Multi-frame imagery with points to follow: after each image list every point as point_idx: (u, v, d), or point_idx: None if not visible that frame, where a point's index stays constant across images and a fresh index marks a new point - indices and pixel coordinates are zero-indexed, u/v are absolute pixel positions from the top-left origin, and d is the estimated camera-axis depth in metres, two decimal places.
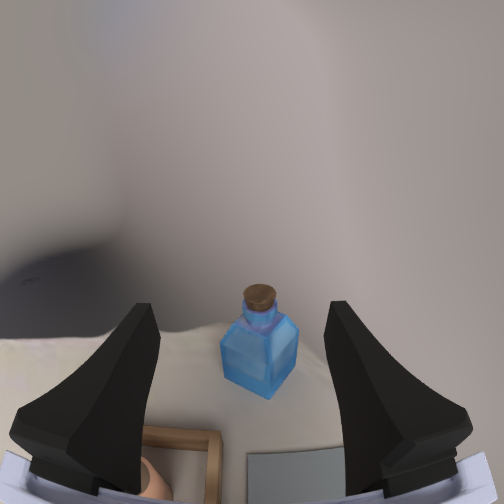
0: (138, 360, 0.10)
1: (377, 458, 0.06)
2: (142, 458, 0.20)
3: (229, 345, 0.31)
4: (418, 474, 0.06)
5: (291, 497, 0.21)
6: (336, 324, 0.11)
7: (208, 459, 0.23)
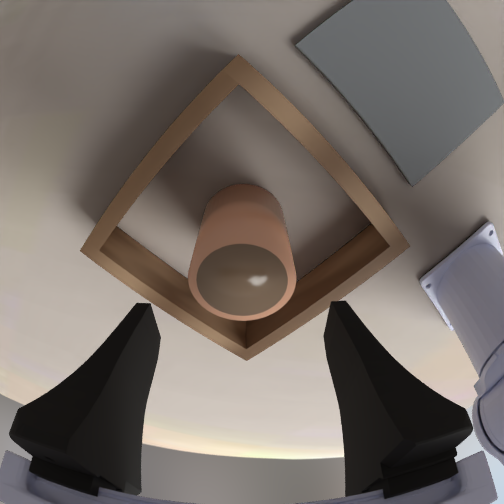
0: (138, 360, 0.10)
1: (377, 458, 0.06)
2: (225, 240, 0.13)
3: None
4: (418, 474, 0.06)
5: (405, 74, 0.14)
6: (336, 324, 0.11)
7: (276, 115, 0.13)
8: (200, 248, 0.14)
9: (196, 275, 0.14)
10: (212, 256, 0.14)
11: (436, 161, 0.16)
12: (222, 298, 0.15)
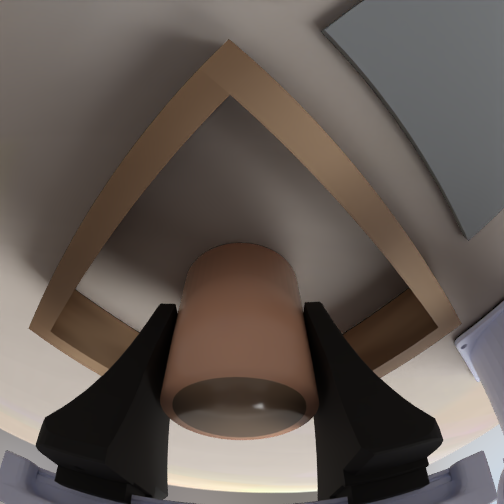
0: (165, 362, 0.10)
1: (341, 465, 0.06)
2: (210, 373, 0.08)
3: None
4: (385, 483, 0.06)
5: (477, 87, 0.08)
6: (309, 325, 0.11)
7: (297, 152, 0.08)
8: (173, 376, 0.08)
9: (172, 403, 0.09)
10: (192, 388, 0.08)
11: (499, 207, 0.11)
12: (212, 424, 0.09)
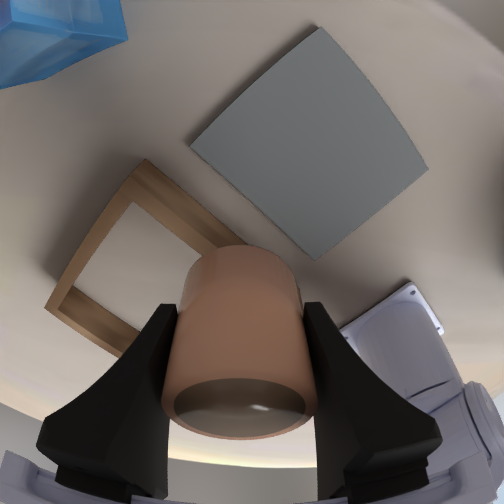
0: (165, 362, 0.10)
1: (341, 465, 0.06)
2: (216, 373, 0.08)
3: None
4: (385, 483, 0.06)
5: (301, 160, 0.17)
6: (308, 326, 0.11)
7: (165, 224, 0.16)
8: (177, 375, 0.08)
9: (174, 402, 0.09)
10: (196, 388, 0.08)
11: (339, 237, 0.20)
12: (210, 424, 0.09)
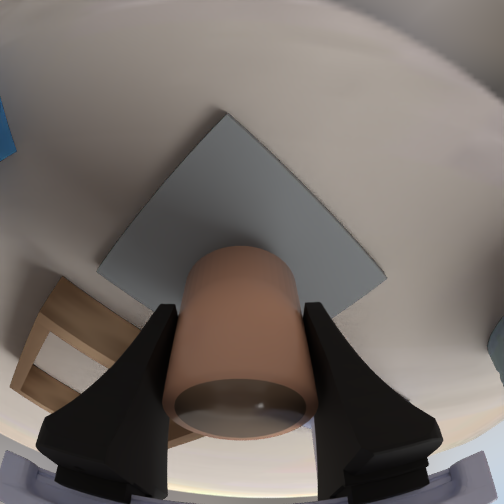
0: (165, 362, 0.10)
1: (341, 465, 0.06)
2: (220, 374, 0.08)
3: None
4: (385, 483, 0.06)
5: None
6: (309, 326, 0.11)
7: (83, 352, 0.14)
8: (180, 375, 0.08)
9: (175, 401, 0.09)
10: (199, 388, 0.08)
11: None
12: (210, 424, 0.09)
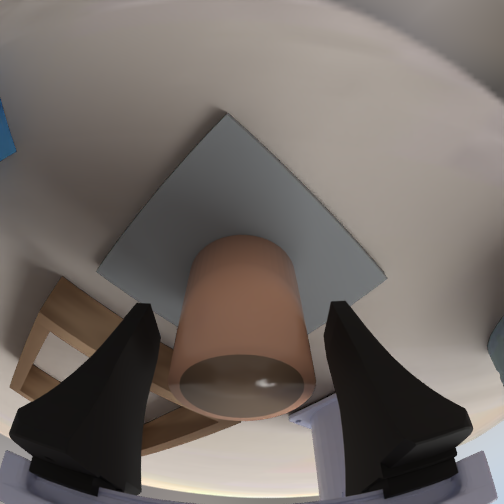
0: (138, 360, 0.10)
1: (377, 458, 0.06)
2: (224, 349, 0.09)
3: None
4: (418, 474, 0.06)
5: None
6: (336, 324, 0.11)
7: (83, 352, 0.14)
8: (186, 352, 0.09)
9: (180, 379, 0.09)
10: (203, 365, 0.09)
11: None
12: (213, 403, 0.10)
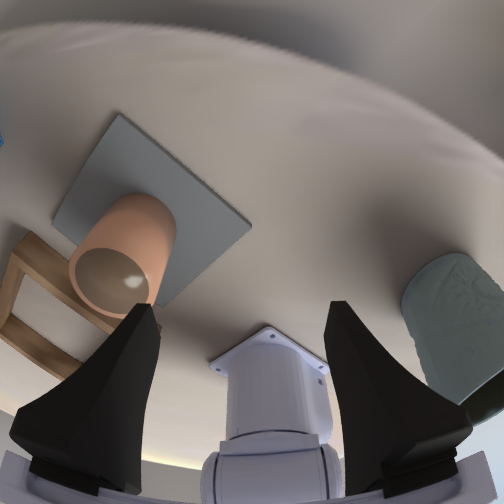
0: (138, 360, 0.10)
1: (377, 458, 0.06)
2: (91, 244, 0.13)
3: None
4: (418, 474, 0.06)
5: None
6: (336, 324, 0.11)
7: (39, 283, 0.19)
8: (75, 250, 0.14)
9: (75, 273, 0.14)
10: (83, 257, 0.14)
11: (177, 290, 0.23)
12: (97, 295, 0.15)
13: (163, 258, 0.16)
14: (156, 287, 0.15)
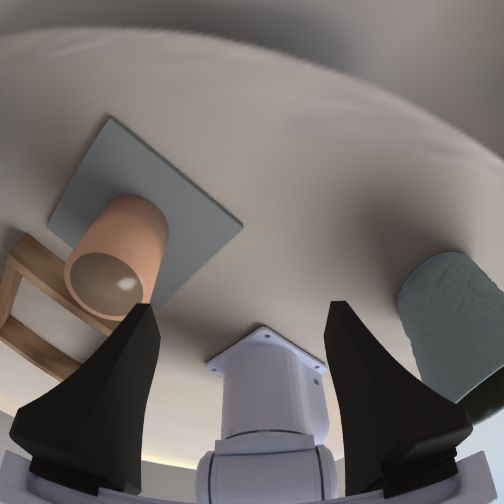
0: (138, 360, 0.10)
1: (377, 458, 0.06)
2: (82, 250, 0.14)
3: None
4: (418, 474, 0.06)
5: None
6: (336, 324, 0.11)
7: (35, 285, 0.20)
8: (68, 257, 0.14)
9: (71, 280, 0.15)
10: (76, 263, 0.14)
11: (171, 291, 0.23)
12: (94, 300, 0.15)
13: (155, 257, 0.16)
14: (149, 286, 0.15)
